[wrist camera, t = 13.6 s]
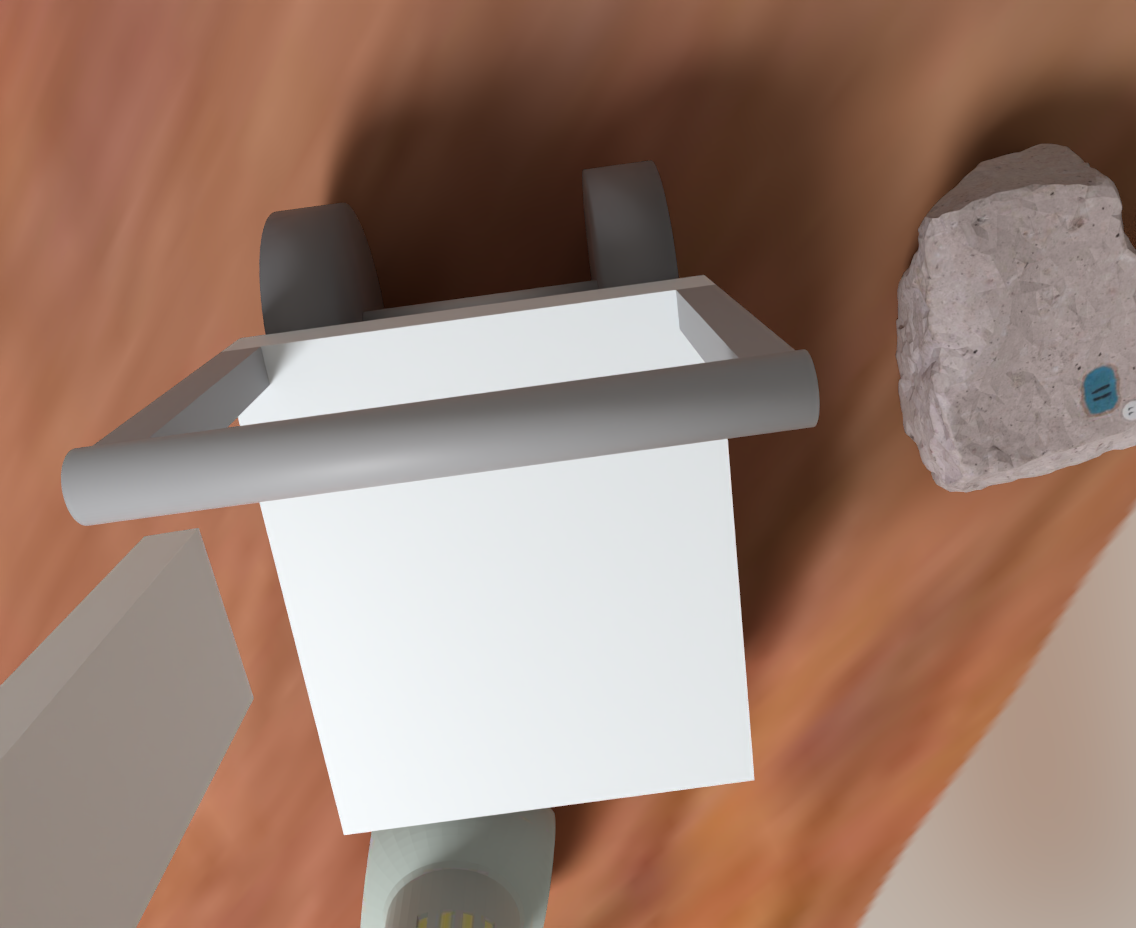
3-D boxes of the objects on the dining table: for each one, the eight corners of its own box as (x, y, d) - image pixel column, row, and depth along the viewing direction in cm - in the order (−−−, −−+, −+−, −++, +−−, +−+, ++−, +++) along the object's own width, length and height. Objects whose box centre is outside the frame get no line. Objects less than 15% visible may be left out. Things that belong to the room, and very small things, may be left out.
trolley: (657, 154, 38) (809, 183, 18) (708, 694, 46) (852, 1144, 26) (282, 205, 38) (-3, 294, 18) (399, 735, 46) (298, 1218, 26)
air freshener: (528, 921, 51) (529, 1103, 41) (370, 907, 50) (333, 1089, 40) (559, 746, 47) (567, 901, 38) (389, 728, 46) (354, 881, 37)
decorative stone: (1120, 418, 43) (1209, 460, 37) (913, 485, 43) (969, 537, 38) (1074, 118, 39) (1165, 115, 33) (845, 197, 39) (897, 207, 34)
